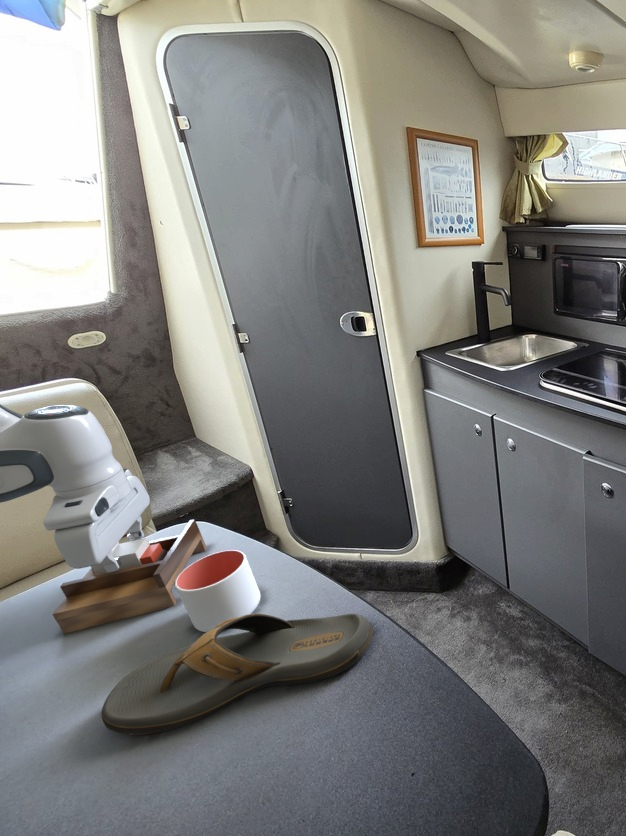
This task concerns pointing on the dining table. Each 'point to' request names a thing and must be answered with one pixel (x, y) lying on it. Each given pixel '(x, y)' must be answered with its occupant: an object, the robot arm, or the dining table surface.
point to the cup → (218, 589)
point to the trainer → (134, 554)
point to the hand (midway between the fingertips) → (126, 553)
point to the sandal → (233, 669)
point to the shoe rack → (128, 586)
